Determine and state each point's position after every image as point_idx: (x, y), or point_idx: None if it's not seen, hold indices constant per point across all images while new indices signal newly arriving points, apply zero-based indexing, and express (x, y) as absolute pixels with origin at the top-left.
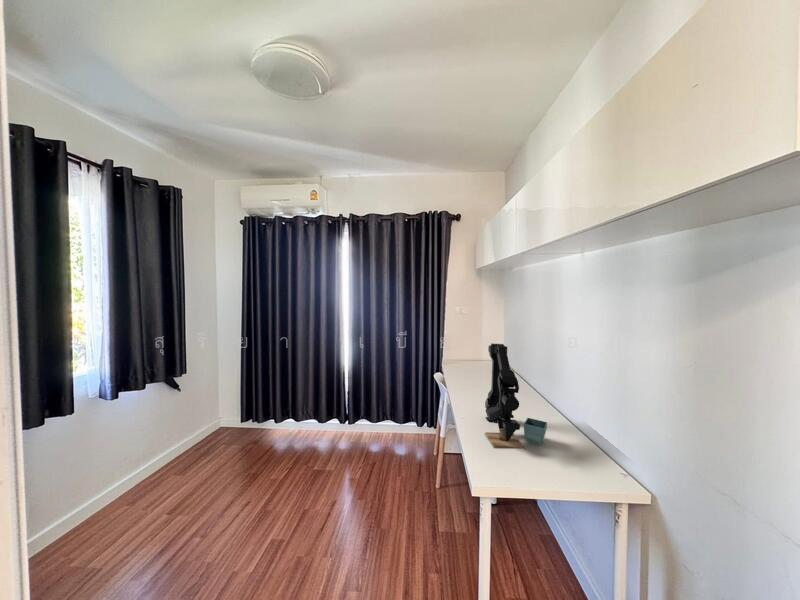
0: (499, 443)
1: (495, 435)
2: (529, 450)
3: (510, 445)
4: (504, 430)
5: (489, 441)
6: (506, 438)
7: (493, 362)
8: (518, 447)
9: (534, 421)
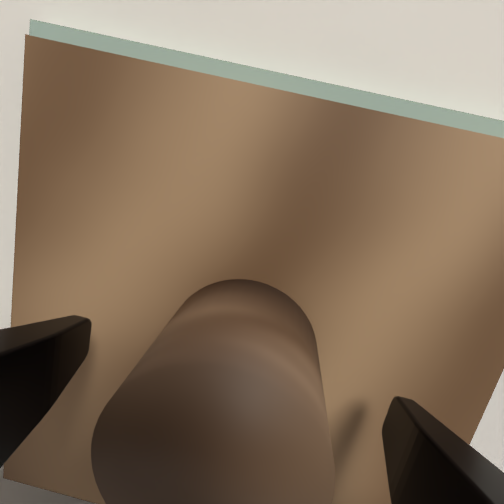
0: (107, 187)
1: (402, 291)
2: (8, 483)
3: (35, 322)
4: (203, 470)
5: (274, 85)
6: (25, 330)
7: None
8: None
9: None
